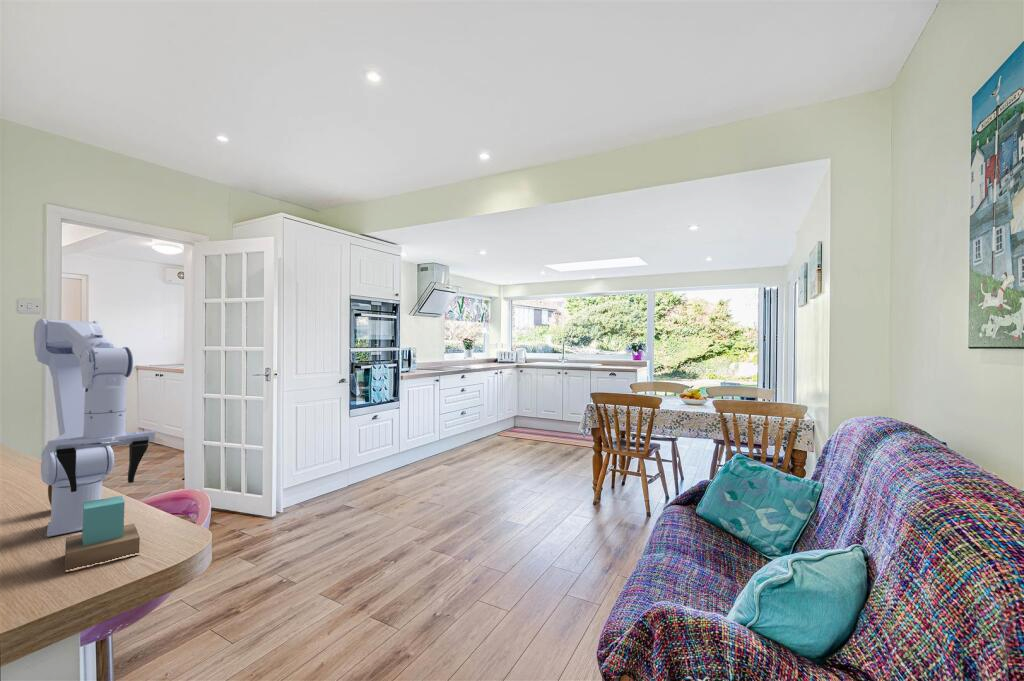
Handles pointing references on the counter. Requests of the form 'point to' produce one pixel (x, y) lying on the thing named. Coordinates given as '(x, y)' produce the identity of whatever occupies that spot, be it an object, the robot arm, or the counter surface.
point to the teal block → (103, 520)
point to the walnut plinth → (100, 549)
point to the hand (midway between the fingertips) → (103, 486)
